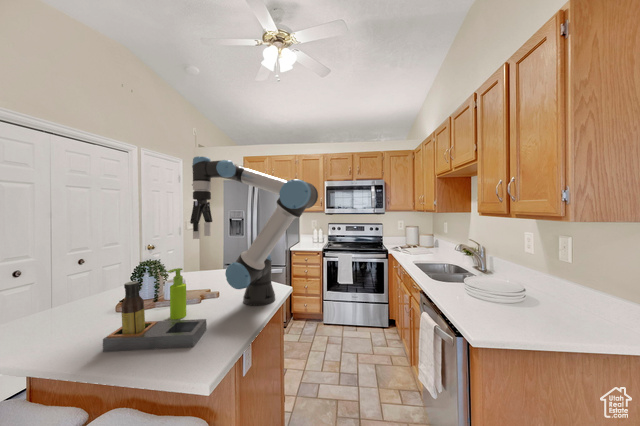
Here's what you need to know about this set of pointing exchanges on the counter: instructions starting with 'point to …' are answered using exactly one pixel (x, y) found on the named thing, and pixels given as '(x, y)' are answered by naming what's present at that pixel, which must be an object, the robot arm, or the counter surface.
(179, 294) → the soap dispenser
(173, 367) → the counter surface
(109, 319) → the counter surface
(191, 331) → the grey tray
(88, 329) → the counter surface
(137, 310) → the sauce bottle
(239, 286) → the robot arm
